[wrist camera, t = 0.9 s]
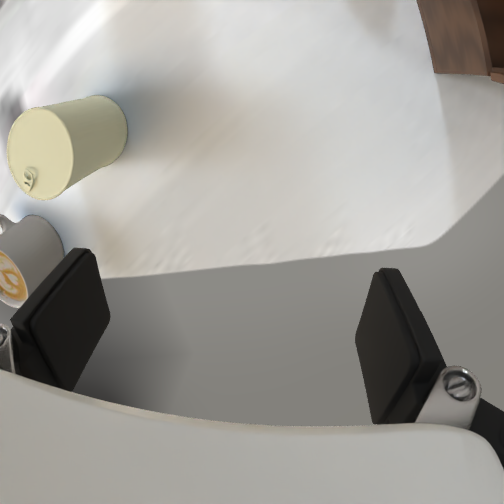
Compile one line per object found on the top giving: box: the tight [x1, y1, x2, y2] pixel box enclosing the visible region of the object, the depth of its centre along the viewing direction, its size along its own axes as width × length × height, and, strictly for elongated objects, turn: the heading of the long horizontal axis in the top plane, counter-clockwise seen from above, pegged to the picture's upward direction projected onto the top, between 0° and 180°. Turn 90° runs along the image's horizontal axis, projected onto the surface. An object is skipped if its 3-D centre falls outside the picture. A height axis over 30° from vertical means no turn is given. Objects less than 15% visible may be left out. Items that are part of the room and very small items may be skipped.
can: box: [7, 95, 127, 200], centre depth 28 cm, size 9×9×12 cm
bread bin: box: [417, 0, 504, 76], centre depth 17 cm, size 17×16×11 cm
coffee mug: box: [0, 214, 64, 308], centre depth 37 cm, size 13×10×10 cm
